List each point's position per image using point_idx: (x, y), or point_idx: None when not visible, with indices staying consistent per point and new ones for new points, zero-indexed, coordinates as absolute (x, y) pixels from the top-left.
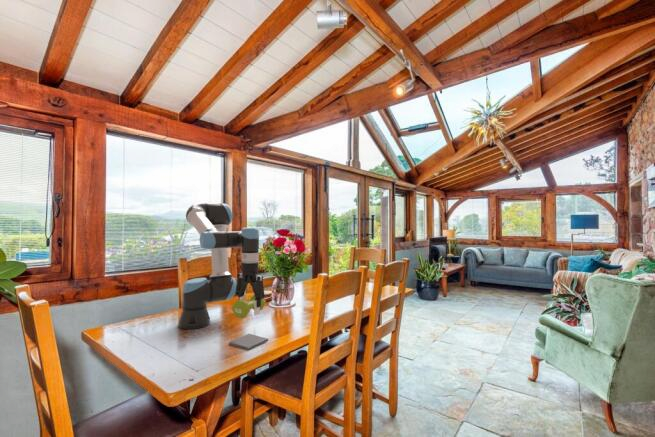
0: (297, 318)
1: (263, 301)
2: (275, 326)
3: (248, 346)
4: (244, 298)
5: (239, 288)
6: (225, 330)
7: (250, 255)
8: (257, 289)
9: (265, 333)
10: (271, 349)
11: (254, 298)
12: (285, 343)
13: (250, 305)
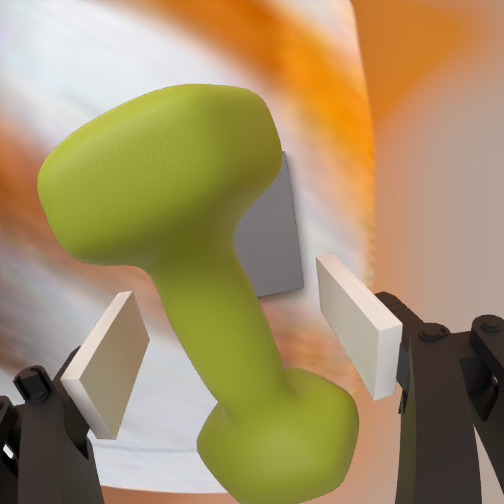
0: None
1: (275, 145)
2: (139, 4)
3: (290, 280)
4: (93, 369)
5: (13, 491)
6: (17, 229)
7: None
8: (462, 472)
9: None
10: (370, 208)
11: (161, 258)
12: (367, 118)
13: (279, 361)
